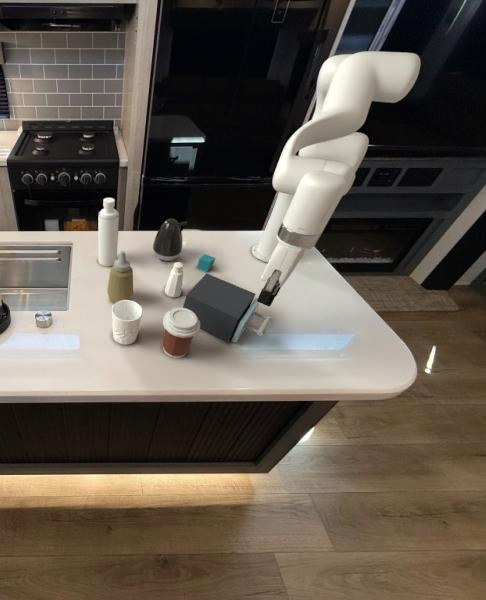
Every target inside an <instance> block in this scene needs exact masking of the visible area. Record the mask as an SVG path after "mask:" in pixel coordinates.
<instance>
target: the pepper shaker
mask: <svg viewBox="0 0 486 600" xmlns="http://www.w3.org/2000/svg"><path fill="white" fill-rule="evenodd" d="M183 269H184V264H183V263H182V262H174V263H173V268H172V269H171V271H170V273H169V277H168V278H167V279H168V280H167V283H166V286H165V289H164V293H165V295H167V296H168V297H171V298H177V297H180V296H181V295H182V291H183V281H184V271H183Z"/></svg>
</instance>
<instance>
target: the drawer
mask: <svg viewBox="0 0 486 600" xmlns="http://www.w3.org/2000/svg"><path fill="white" fill-rule="evenodd" d="M257 299H258V298H254V299H253V301H252V304H251V306H250V308H249V309H248V310H247V312H246V313H245V315H244V316H243V318H242V319H241V321H240V323H239V325H238V327H237V329H236V332H235V333H234V335H233V336H232V338H231V342H233V343H235V344H236V343H237V342H238V340H239V339H240V337H241V336H242V334H243V333H244V331H245V329H246V328H247V329H249V330H250V331H252V332H255V333H256V335H258V336H259V337H262V336H263V335H264V333H265V332H266V330H267V328H268V327H269V325H270V323H271V322H272V317H271V316H265V315H262V314H260V313H258V312H256V310H257V308H258V306H259V304H260V303H259V302H257ZM243 313H244V312H243ZM242 315H243V314H242ZM242 315H241V317H242ZM253 316H255V317H257V318H259V319H261V320H263V321H262V323H261V325H260V327H259V329H258V328H255V327H253V326H252V325H249V324H250V322H251V321H252V318H253ZM241 317H240V318H241ZM240 318H239V320H240ZM239 320H238V321H239ZM237 323H238V322H237Z"/></svg>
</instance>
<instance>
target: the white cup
mask: <svg viewBox="0 0 486 600" xmlns="http://www.w3.org/2000/svg"><path fill="white" fill-rule="evenodd" d="M142 316H143V308H142V306H141V305H140V304H139V303H137V301H135V300H131V299H130V300H122V301H119V302H117V303H115V304H113V305H112V307H111V326H112V327H111V329H112V338H113V339H114V341H115V342H116V343H118V344H120V345H126V346H127V345H131V344H133V343H135V341H136V340H137V337H138V333H139V330H140V326H141V322H142Z"/></svg>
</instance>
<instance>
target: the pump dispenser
mask: <svg viewBox="0 0 486 600" xmlns="http://www.w3.org/2000/svg"><path fill="white" fill-rule="evenodd" d="M186 225H188V221H182V222H179V221H178V220H177V219H176V218H168V219H166V220H164V222H163V223H162V224H161V225H160V227H159V228H158V230H157V232H156V234H155V237H154V241H153V245H152V250H153V252H154V255H155V256H156V257H157V259H159V260H161V261H164V262H170V261H171V262H172V261H174V260H175V259H177V258H178V256H179V255H180V254H181V252H182V249H183V233H182V227H184V226H186Z"/></svg>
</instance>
